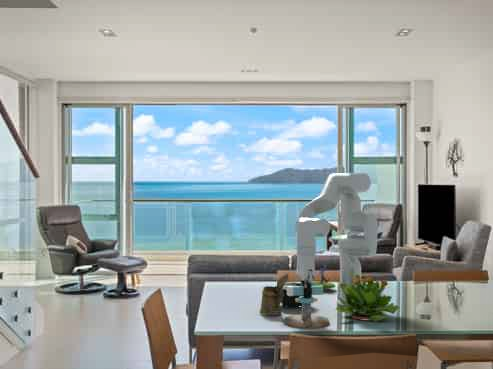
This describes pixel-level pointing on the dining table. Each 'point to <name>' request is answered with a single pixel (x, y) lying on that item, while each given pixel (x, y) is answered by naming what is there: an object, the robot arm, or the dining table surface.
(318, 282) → the figurine
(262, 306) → the wooden mug
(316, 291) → the white-capped blue bar
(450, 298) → the dining table surface
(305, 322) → the base plate
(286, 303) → the bowl
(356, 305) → the potted flower
